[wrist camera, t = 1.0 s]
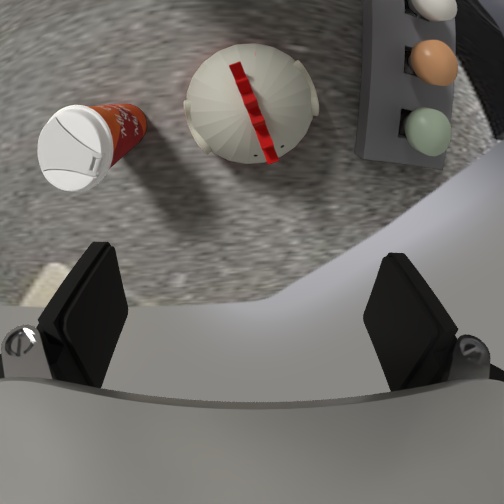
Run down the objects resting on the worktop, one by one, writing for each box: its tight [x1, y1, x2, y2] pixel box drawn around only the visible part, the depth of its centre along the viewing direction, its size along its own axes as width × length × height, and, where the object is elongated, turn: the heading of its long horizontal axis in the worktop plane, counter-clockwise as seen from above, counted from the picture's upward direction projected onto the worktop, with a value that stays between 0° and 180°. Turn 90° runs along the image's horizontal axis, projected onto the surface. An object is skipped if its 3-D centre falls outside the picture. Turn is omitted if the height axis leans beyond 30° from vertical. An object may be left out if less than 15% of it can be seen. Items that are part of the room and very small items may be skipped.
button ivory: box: [408, 0, 457, 22], centre depth 19 cm, size 5×5×5 cm
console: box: [355, 0, 455, 170], centre depth 26 cm, size 26×12×3 cm, turn 179°
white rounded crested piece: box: [184, 43, 319, 164], centre depth 25 cm, size 14×14×15 cm
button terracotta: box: [408, 40, 458, 86], centre depth 23 cm, size 5×5×5 cm
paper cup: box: [38, 104, 147, 191], centre depth 26 cm, size 8×8×14 cm
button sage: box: [403, 107, 451, 156], centre depth 27 cm, size 5×5×5 cm
